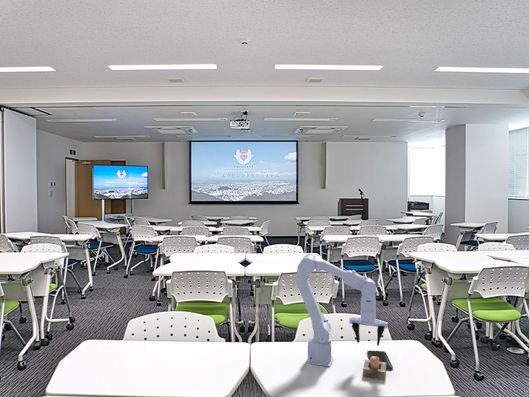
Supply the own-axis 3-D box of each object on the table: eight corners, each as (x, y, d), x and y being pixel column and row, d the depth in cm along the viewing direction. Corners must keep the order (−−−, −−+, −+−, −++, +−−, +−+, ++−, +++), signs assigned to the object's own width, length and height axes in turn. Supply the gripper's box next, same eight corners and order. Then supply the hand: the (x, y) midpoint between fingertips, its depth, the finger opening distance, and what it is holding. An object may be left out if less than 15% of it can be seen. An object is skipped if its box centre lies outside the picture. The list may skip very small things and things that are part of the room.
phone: (385, 351, 159) (393, 368, 144) (385, 353, 159) (393, 371, 144) (366, 350, 160) (372, 367, 145) (366, 353, 160) (372, 370, 145)
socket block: (363, 376, 140) (363, 368, 140) (365, 366, 147) (365, 359, 147) (385, 380, 137) (385, 372, 137) (386, 370, 144) (386, 362, 144)
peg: (370, 374, 141) (370, 359, 141) (370, 370, 144) (370, 355, 144) (379, 376, 140) (379, 360, 140) (379, 371, 143) (379, 356, 143)
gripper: (348, 310, 146) (348, 344, 146) (386, 315, 140) (386, 350, 141) (350, 305, 152) (350, 337, 153) (387, 309, 147) (387, 342, 148)
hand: (368, 343), depth 147 cm, fingers open, 7 cm apart
